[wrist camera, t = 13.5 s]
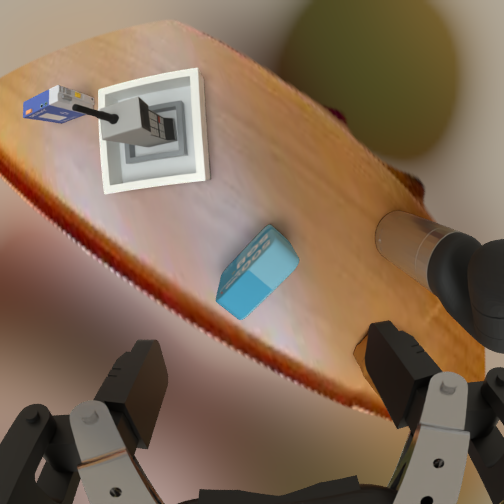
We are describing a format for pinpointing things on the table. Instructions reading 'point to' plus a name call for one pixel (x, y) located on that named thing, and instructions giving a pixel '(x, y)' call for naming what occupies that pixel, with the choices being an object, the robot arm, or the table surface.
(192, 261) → the table surface
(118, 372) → the robot arm
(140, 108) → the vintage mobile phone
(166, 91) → the box
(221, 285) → the data package
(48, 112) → the walkman
